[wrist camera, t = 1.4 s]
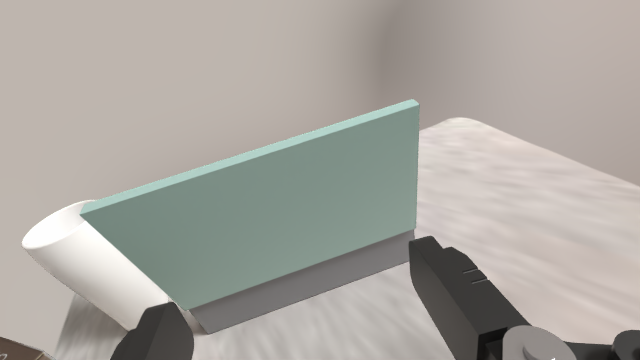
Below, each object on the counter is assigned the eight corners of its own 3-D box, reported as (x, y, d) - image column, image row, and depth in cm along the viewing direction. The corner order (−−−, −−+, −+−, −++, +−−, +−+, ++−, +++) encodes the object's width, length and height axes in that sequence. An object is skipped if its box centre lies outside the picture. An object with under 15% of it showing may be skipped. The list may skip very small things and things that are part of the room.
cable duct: (367, 189, 46) (362, 162, 43) (416, 258, 33) (413, 226, 31) (216, 240, 44) (201, 215, 41) (208, 334, 32) (186, 307, 29)
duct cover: (412, 98, 22) (419, 104, 21) (411, 221, 31) (416, 228, 30) (84, 204, 20) (79, 214, 19) (185, 301, 29) (185, 310, 28)
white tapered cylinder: (116, 312, 37) (24, 225, 29) (169, 278, 40) (99, 190, 32) (122, 353, 32) (13, 262, 24) (182, 311, 35) (102, 217, 27)
